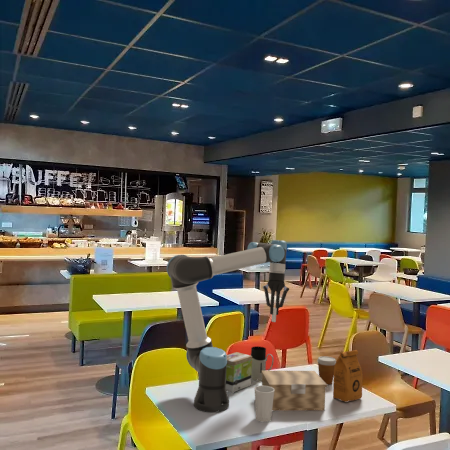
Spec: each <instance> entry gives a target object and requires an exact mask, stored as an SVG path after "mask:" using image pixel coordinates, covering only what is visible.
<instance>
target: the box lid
mask: <svg viewBox="0 0 450 450" xmlns="http://www.w3.org/2000/svg"><path fill="white" fill-rule="evenodd" d="M261 373H262V375H263V377H264V379H265V381H266V382H267V384H268V386H269V387H291V394H305V387H325V388H328V384H326V383H325V382H324V381H323V380H322V379H321V377H320V376H319V373H317V371H315V370H269V371H268V370H266V371H261Z"/></svg>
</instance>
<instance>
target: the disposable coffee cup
mask: <svg viewBox="0 0 450 450" xmlns="http://www.w3.org/2000/svg"><path fill="white" fill-rule="evenodd" d="M336 361H337V359H336V358H334V357H332V356H327V355H326V356H323V355H322V356H319V357H318V358H317V360H316V362H317V365H318V366H317V367H318V375H319V376H320V377H321V379H322V380H323V381H324V382H325V383H326V384H327V385H333V380H334V368H335V363H336Z"/></svg>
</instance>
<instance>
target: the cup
mask: <svg viewBox="0 0 450 450" xmlns="http://www.w3.org/2000/svg"><path fill="white" fill-rule="evenodd" d="M273 398H274V388H272V387H269V386H262V385H258V386H255V387H254V403H255V405H254V408H255V409H254V410H255V420H256V421H258V422H262V423H269V422H271V421H272V413H273V411H272V406H273ZM268 421H269V422H268Z"/></svg>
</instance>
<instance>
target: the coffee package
mask: <svg viewBox="0 0 450 450" xmlns="http://www.w3.org/2000/svg"><path fill="white" fill-rule="evenodd" d="M358 354H359V350H357V349H355V350H350V351H349V350H348V351H347V350H346V351H344V352H343V351H342V352H340V354H339V355H338V356H337V357H338V358H337V359H336V363H335V368H334V376H333V382H332V385H333V389H332V391H333V392H332V397H333V399H337V400H340V401H341V402H345V403H347V402H353V401H357V400H361V399H362V397H363V380H364V379H363V377H364V376H363V370H362V367H361V364H360V362H359V359H358V356H357V355H358Z"/></svg>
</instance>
